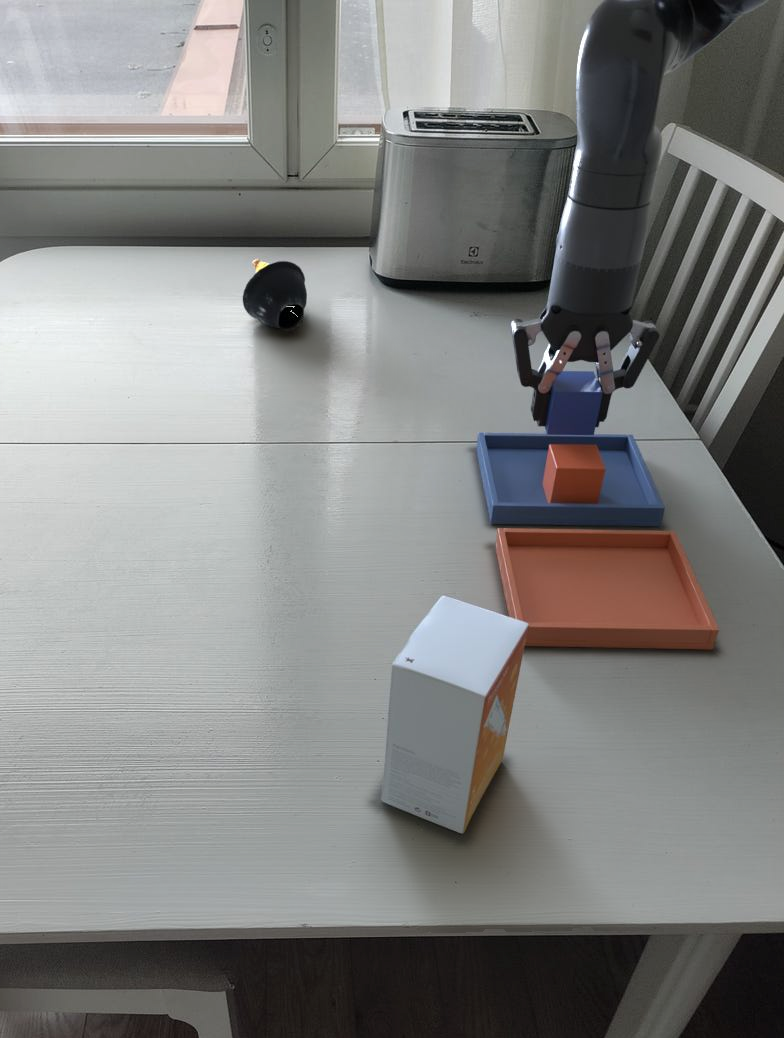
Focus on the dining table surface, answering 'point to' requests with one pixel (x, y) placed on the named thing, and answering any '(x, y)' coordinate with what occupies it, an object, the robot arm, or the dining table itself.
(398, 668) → the small box
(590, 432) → the blue block
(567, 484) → the clay block
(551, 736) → the dining table surface
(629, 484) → the blue tray
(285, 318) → the fried shrimp in bowl
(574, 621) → the clay tray
